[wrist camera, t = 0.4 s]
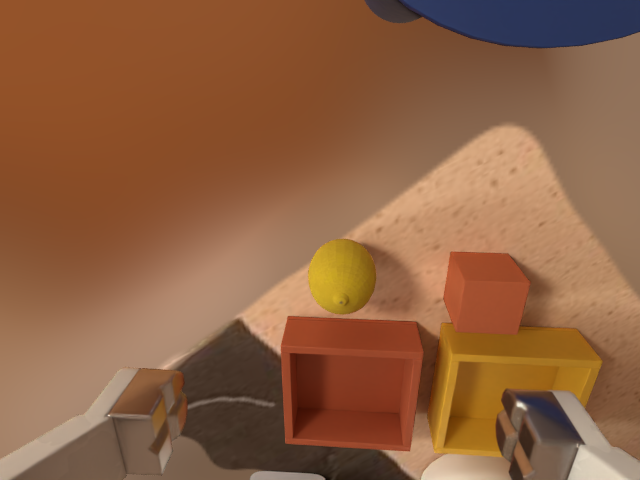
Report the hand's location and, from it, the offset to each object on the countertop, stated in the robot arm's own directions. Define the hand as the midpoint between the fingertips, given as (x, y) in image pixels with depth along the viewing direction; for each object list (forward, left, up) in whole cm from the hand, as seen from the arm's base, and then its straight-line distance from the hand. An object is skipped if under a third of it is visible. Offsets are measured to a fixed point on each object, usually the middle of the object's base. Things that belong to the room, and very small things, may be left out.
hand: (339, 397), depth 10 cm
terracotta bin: (+22, +1, -25) cm, 33 cm away
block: (+11, +12, -25) cm, 30 cm away
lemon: (+9, 0, -25) cm, 27 cm away
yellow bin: (+22, +16, -25) cm, 37 cm away
